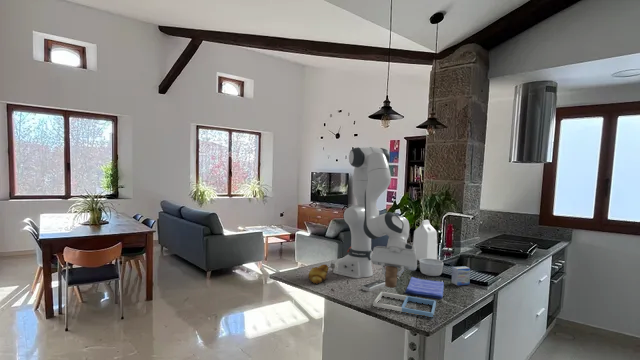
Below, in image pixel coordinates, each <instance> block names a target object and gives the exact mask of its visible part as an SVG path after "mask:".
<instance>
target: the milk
mask: <svg viewBox="0 0 640 360" xmlns="http://www.w3.org/2000/svg"><path fill="white" fill-rule="evenodd" d="M430 222H431V221H430V219H424V220H422V221H421V224H420V225H419V226H418V227H416V229H415V230H414V231H413V239H412V241H413V242H412V246H414V247H415V250H416V257H417V261H419V260H420V259H423V258H431V259H437V260H438V232H437V230H436V229H435V228H434V227H433V226H432V225H431V223H430Z"/></svg>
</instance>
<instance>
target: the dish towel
mask: <svg viewBox="0 0 640 360" xmlns="http://www.w3.org/2000/svg"><path fill="white" fill-rule="evenodd" d="M444 283H445V282H444V281H439V280H431V279H430V280H429V279H421V278H418V277H414V276H410V279H409V282H408V284H407V287H406V288H405V289H406V290H405V291H404V293H405V294H407V295H412V296H417V297H418V296H420V297H425V298H431V299H439V300H442V299H443V296H444V290H445V289H444V288H445V284H444Z"/></svg>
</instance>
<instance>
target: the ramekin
mask: <svg viewBox="0 0 640 360" xmlns="http://www.w3.org/2000/svg"><path fill="white" fill-rule="evenodd" d="M418 261H419V262H418V263H419V270H420V272H421V274H423V275H426V276H430V277H437V276H438V277H439V276H441V275H442V272H443V266H444V262H443V260H440V259H438V258H437V259H431V258H423V259H420V260H418Z"/></svg>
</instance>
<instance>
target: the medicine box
mask: <svg viewBox="0 0 640 360" xmlns="http://www.w3.org/2000/svg"><path fill="white" fill-rule="evenodd" d="M470 280H471V268H470V267H468V266H465V265H464V266H463V265H462V266H452V267H451V283H452V284H453V285H456V286H468V285H470Z"/></svg>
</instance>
